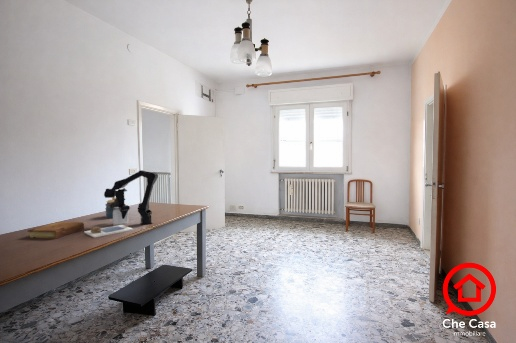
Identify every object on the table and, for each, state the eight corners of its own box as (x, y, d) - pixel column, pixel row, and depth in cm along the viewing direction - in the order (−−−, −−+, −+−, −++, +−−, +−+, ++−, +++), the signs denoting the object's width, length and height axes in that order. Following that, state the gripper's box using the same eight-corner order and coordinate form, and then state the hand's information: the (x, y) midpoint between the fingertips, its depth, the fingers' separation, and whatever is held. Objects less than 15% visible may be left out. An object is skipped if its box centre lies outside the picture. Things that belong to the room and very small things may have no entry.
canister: (126, 216, 228) (126, 196, 227) (115, 219, 215) (114, 198, 215) (113, 216, 231) (113, 196, 230) (101, 219, 218) (101, 197, 217)
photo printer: (127, 222, 204) (127, 206, 204) (128, 223, 201) (128, 207, 200) (112, 224, 199) (112, 208, 198) (113, 225, 195) (112, 209, 195)
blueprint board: (121, 226, 194) (121, 220, 193) (133, 229, 182) (132, 224, 182) (84, 232, 175) (84, 226, 175) (93, 237, 164) (93, 231, 164)
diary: (56, 239, 161) (56, 230, 161) (27, 239, 163) (27, 230, 162) (84, 230, 184) (83, 222, 184) (58, 230, 186) (58, 221, 185)
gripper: (103, 197, 199) (104, 218, 199) (113, 199, 187) (114, 221, 187) (119, 196, 207) (119, 216, 208) (129, 198, 195) (130, 219, 196)
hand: (120, 218), depth 200 cm, fingers open, 9 cm apart
